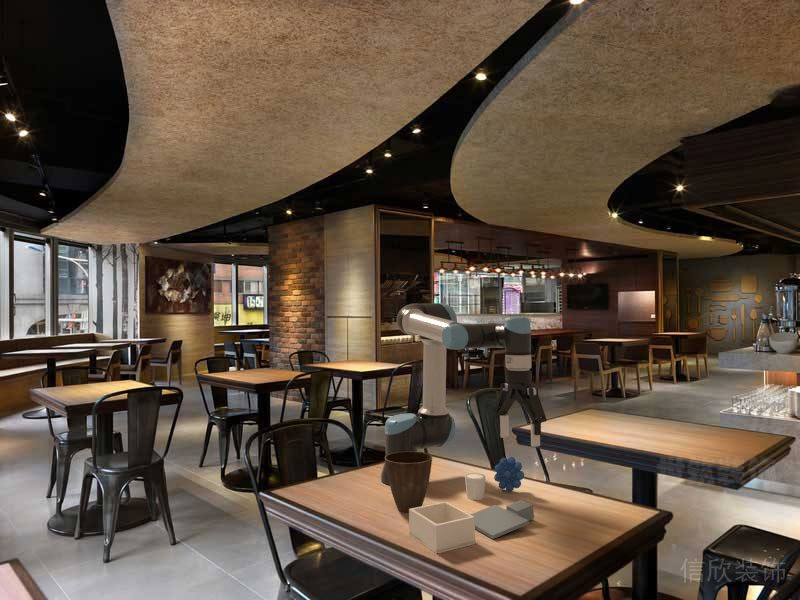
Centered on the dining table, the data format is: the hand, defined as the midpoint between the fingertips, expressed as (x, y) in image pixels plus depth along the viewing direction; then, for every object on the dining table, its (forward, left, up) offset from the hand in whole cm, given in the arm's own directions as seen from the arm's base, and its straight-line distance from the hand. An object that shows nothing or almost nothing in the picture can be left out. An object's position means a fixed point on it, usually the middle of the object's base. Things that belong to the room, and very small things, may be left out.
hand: (519, 441), depth 161 cm
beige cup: (-23, 0, -23) cm, 32 cm away
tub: (0, -28, -23) cm, 36 cm away
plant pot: (-25, -24, -23) cm, 41 cm away
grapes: (-22, +14, -23) cm, 35 cm away
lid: (0, -7, -23) cm, 24 cm away
